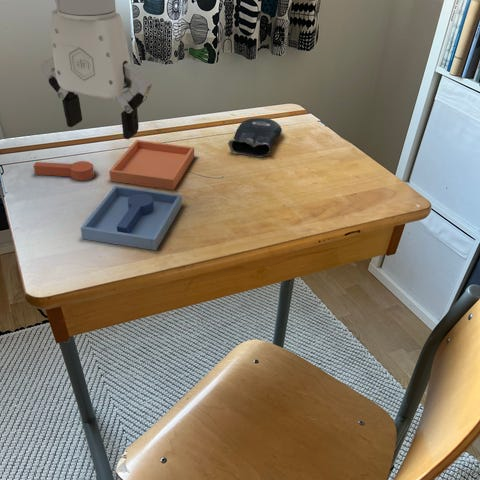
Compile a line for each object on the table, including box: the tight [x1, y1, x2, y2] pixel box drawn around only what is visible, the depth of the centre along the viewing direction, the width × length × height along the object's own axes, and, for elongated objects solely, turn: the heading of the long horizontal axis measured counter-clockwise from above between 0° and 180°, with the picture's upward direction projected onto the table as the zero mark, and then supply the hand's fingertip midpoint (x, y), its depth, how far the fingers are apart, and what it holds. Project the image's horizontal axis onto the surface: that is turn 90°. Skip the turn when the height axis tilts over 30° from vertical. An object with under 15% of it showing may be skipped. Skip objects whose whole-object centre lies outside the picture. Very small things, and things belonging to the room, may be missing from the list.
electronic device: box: [227, 117, 283, 158], centre depth 109 cm, size 9×6×15 cm
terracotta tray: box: [108, 139, 195, 191], centre depth 99 cm, size 12×14×2 cm
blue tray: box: [79, 185, 183, 251], centre depth 85 cm, size 12×14×2 cm
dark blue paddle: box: [117, 194, 154, 234], centre depth 84 cm, size 11×4×2 cm, turn 168°
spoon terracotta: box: [33, 160, 95, 181], centre depth 96 cm, size 11×4×2 cm, turn 88°
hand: (102, 129), depth 78 cm, fingers open, 9 cm apart
